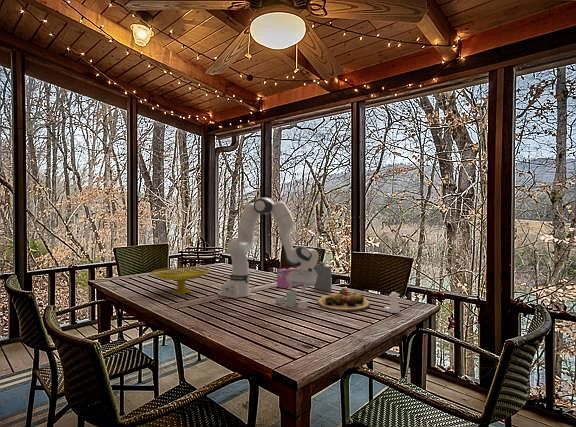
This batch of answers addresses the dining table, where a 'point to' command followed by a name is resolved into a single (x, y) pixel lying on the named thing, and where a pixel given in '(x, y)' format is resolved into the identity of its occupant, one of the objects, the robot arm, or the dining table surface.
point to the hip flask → (323, 277)
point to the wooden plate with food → (344, 302)
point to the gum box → (285, 276)
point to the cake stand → (180, 276)
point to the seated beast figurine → (393, 304)
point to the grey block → (280, 300)
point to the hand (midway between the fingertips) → (296, 289)
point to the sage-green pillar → (291, 298)
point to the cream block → (302, 304)
